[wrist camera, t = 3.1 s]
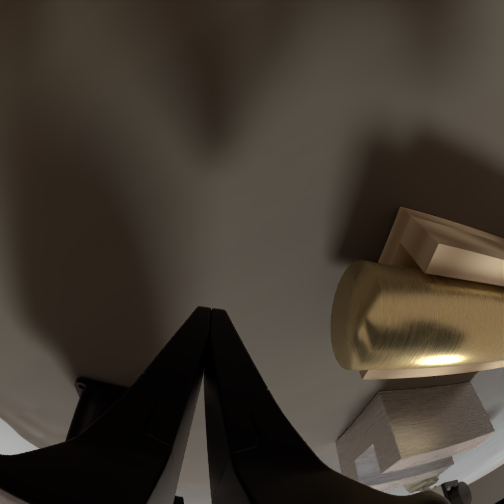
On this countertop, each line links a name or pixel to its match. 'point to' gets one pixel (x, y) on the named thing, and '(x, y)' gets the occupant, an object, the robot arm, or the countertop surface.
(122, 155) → the countertop surface
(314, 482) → the robot arm
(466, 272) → the beam
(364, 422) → the cradle
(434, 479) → the pneumatic valve
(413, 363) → the axle
